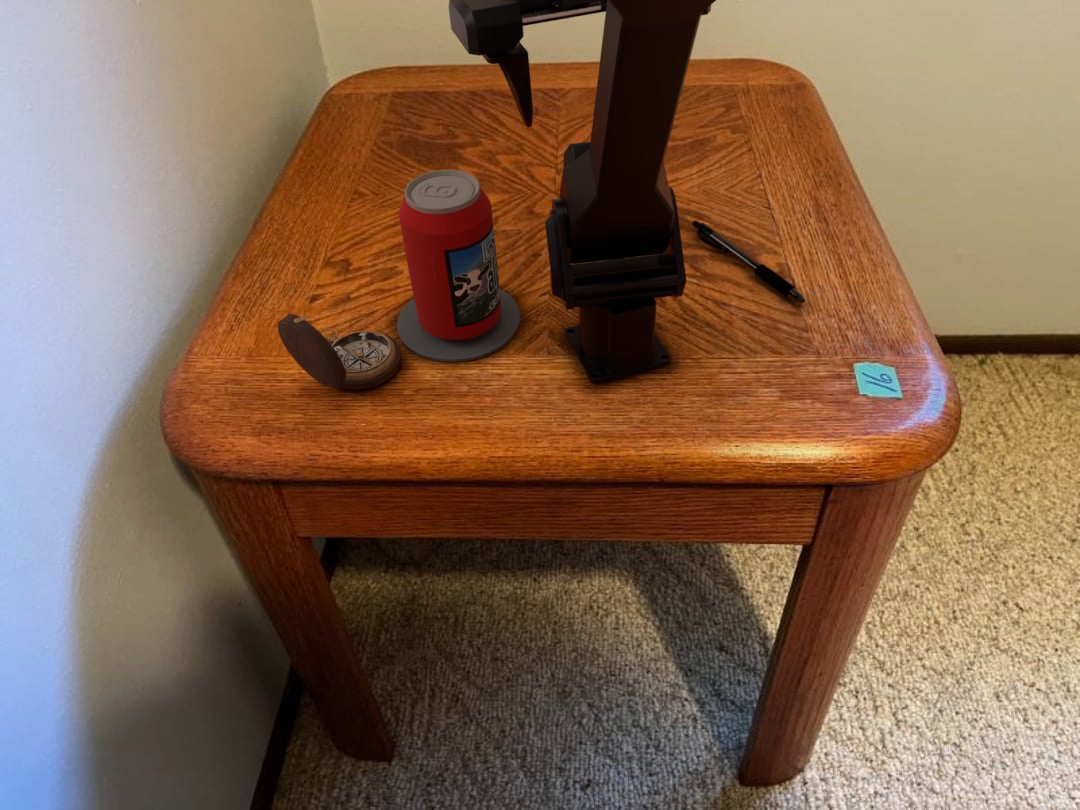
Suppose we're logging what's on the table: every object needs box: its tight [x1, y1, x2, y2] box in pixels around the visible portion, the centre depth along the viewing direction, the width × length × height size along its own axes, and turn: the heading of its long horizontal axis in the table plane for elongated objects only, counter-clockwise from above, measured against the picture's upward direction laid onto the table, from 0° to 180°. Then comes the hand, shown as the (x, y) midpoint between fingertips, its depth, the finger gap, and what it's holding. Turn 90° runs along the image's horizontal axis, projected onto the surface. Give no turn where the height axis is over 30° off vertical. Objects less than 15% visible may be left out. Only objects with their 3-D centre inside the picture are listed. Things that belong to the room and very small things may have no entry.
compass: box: [277, 312, 403, 390], centre depth 63 cm, size 8×8×7 cm
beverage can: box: [398, 169, 501, 340], centre depth 65 cm, size 7×7×12 cm
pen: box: [691, 219, 806, 304], centre depth 72 cm, size 14×2×1 cm, turn 31°
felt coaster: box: [396, 288, 521, 363], centre depth 69 cm, size 10×10×1 cm
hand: (582, 114), depth 68 cm, fingers open, 9 cm apart
